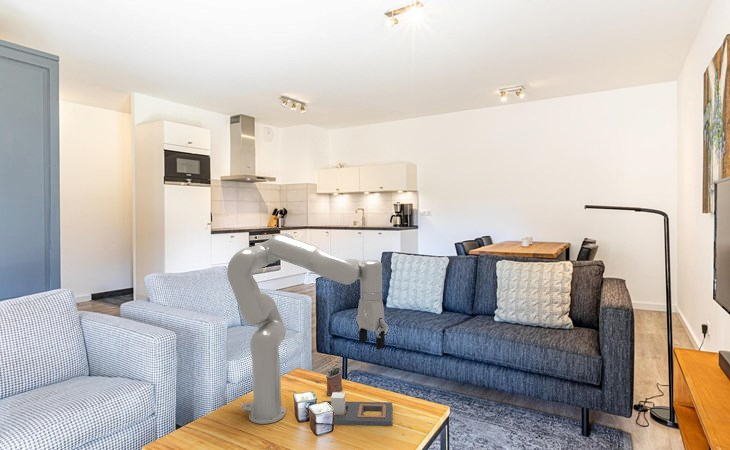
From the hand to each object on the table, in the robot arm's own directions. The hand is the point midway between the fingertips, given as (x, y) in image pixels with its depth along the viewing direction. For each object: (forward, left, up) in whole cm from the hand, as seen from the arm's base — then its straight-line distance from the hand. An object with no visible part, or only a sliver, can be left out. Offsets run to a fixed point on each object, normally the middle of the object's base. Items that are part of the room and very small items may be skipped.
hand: (371, 344), depth 144 cm
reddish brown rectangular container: (-16, +19, -26) cm, 36 cm away
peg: (-12, +1, -25) cm, 28 cm away
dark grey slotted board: (-6, +1, -25) cm, 26 cm away
